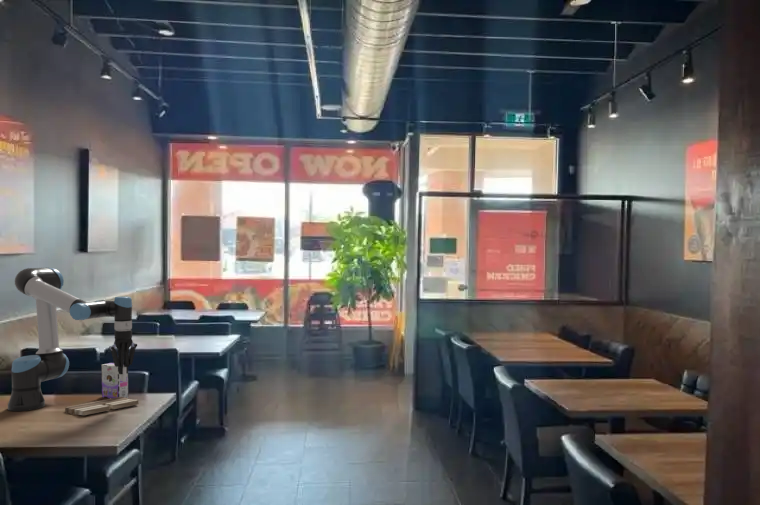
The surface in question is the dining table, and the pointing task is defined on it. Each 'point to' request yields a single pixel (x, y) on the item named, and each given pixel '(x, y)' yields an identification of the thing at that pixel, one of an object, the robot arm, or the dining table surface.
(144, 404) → the dining table surface
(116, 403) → the plank
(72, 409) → the floor board
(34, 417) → the dining table surface
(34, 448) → the dining table surface
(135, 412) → the dining table surface
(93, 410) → the plank
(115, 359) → the robot arm
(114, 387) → the candy box
